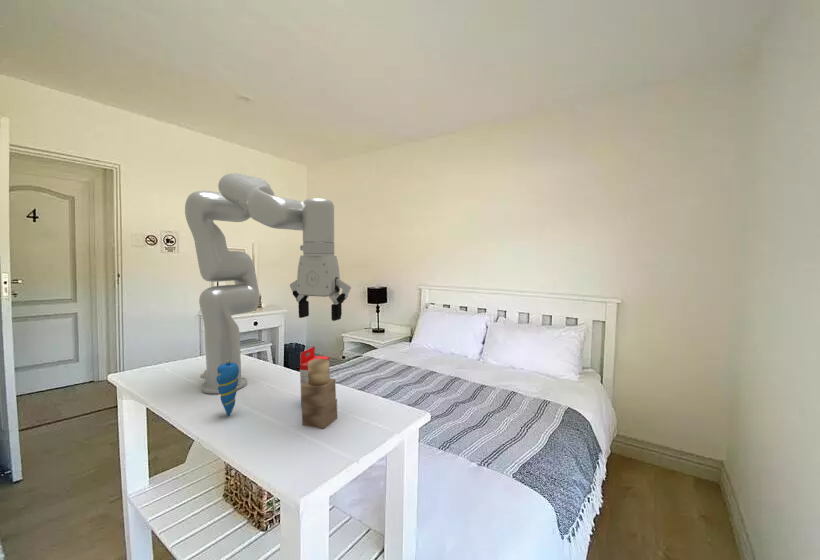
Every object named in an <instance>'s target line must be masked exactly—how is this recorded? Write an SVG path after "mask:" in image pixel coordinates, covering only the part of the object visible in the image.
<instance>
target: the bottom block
mask: <svg viewBox="0 0 820 560" xmlns="http://www.w3.org/2000/svg"><path fill="white" fill-rule="evenodd" d="M337 419H338V398H335V399H334V400H333V401H332V402H331V403H330V404H329V405H328V406H327V407H326V408H317V407H306V406H301V425H302V426H304V427H305V426H306V427H308V428H309V427H310V428H314V429H321V430H325V429H326V428H327V427H328V426H329V425H331V424H332V423H333V422H335V420H337Z"/></svg>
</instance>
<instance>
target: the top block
mask: <svg viewBox="0 0 820 560" xmlns="http://www.w3.org/2000/svg"><path fill="white" fill-rule="evenodd" d="M301 392H302V406H306V407H317V408H326V407H327V406H328V405H329V404H330V403H331V402H332V401H333V400H334V399H337V397H336V396H337V395H336V393H337V391H336V378H331V377H330V382H329V383H327V384H325V385H320V386H313V385H310V384H309V381H307V382H306V383H304V384H303V385H302V386H301V385H300V393H301ZM302 406H301V407H302Z"/></svg>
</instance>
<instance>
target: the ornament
mask: <svg viewBox="0 0 820 560" xmlns="http://www.w3.org/2000/svg"><path fill="white" fill-rule="evenodd" d="M226 360H227V359H226ZM217 371H218V376H217V382H218V384H219V386H218V390H219V392H220V393H219V395H220V398H219V399H220V401H221V405H222V407H223V408H224V410H225V411H224V412H225V413H226V416H229V417H230V416H231V414H232V412H233V410H234V407H235V405H236V395H237V389H236V386H237V384H238V378H237V377H238V374H239V368H238V365H237V364H236V363H230V359H229V360H227V361H226V363H225V364H221V365H220V366H219V367H218V368H217Z"/></svg>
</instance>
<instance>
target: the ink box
mask: <svg viewBox="0 0 820 560" xmlns="http://www.w3.org/2000/svg"><path fill="white" fill-rule="evenodd" d="M315 352H316V346H312V347H310V348H307V349H305V350H304V351H301V352H300V354H299V355H300V356H299V358H300V359H299V362H300V363H299V376H300V377H299V378H300V381H299V382H300V387H301V386H302V385H303V384H304V383H306V382H307V381H308V362H309V361H311V360H315V359H327V360H329V361H330V356H325V355H316V354H315ZM308 353H309V354H308ZM300 406H301V407H302V392H301V391H300Z"/></svg>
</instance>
